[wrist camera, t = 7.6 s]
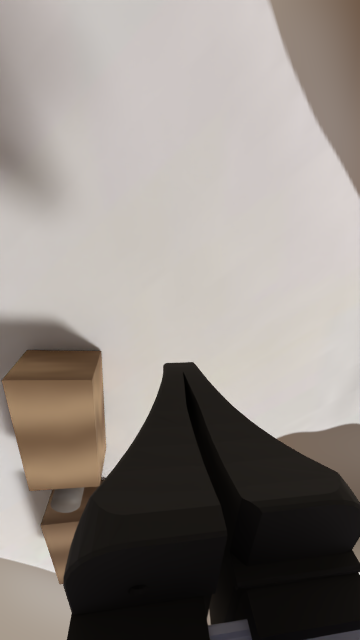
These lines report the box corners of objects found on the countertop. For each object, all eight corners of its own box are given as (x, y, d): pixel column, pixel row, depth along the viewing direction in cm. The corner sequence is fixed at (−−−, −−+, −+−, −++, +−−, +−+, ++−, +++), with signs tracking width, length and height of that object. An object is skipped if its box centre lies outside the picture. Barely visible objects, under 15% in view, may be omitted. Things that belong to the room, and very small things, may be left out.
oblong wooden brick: (115, 537, 34) (112, 577, 30) (69, 542, 33) (59, 584, 29) (109, 479, 29) (103, 518, 25) (54, 484, 28) (40, 525, 25)
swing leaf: (107, 466, 28) (100, 510, 24) (49, 469, 27) (32, 515, 23) (101, 351, 22) (90, 383, 18) (26, 350, 21) (-2, 384, 17)
